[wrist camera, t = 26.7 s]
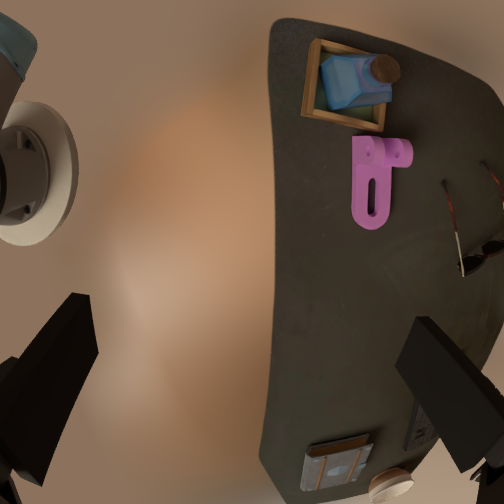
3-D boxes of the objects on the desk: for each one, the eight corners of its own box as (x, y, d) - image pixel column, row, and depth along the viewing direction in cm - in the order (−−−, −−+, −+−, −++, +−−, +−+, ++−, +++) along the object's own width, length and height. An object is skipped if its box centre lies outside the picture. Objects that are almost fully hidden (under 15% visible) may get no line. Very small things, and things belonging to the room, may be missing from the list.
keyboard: (434, 433, 66) (437, 438, 64) (402, 448, 66) (405, 453, 64) (459, 352, 54) (464, 357, 52) (420, 370, 54) (425, 376, 52)
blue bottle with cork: (317, 67, 33) (351, 40, 22) (359, 64, 33) (403, 41, 22) (328, 111, 35) (367, 99, 24) (369, 106, 35) (418, 96, 24)
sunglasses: (449, 268, 46) (465, 278, 41) (430, 183, 41) (449, 186, 37) (495, 237, 45) (511, 244, 40) (481, 158, 40) (499, 160, 36)
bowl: (390, 483, 76) (397, 498, 69) (355, 489, 74) (361, 506, 66) (415, 460, 72) (423, 476, 64) (380, 466, 69) (387, 485, 62)
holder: (300, 115, 36) (306, 113, 33) (309, 44, 33) (315, 37, 30) (372, 132, 37) (383, 131, 34) (379, 64, 34) (390, 60, 31)
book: (304, 445, 59) (308, 461, 55) (369, 431, 60) (376, 446, 55) (299, 480, 66) (301, 494, 62) (354, 469, 67) (358, 482, 62)
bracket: (352, 136, 38) (374, 135, 31) (386, 138, 38) (413, 139, 31) (350, 227, 42) (371, 242, 35) (384, 226, 42) (407, 240, 36)
